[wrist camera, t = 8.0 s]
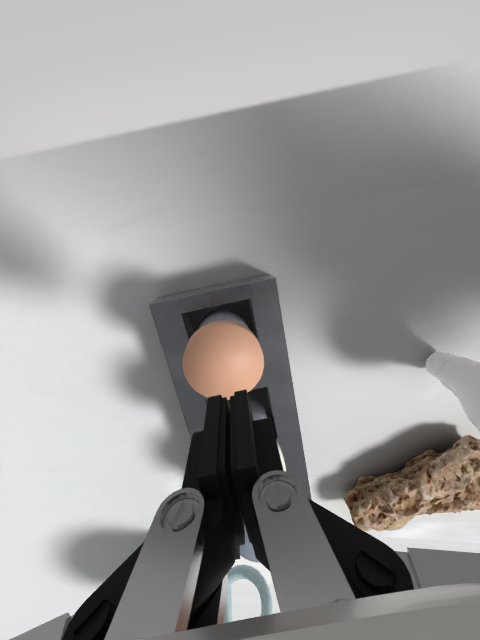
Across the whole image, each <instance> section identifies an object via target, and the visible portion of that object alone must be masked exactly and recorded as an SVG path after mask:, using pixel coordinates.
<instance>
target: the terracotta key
mask: <svg viewBox="0 0 480 640" xmlns="http://www.w3.org/2000/svg"><path fill="white" fill-rule="evenodd" d="M182 365H183V372H184V375H185V378H186V380H187V381H188V383H189V384H190V386H191V387H192V388H193V389H194V390H195V391H197V392H198V393H199V394H201V395H203V396H205V397H207V398H208V397H211V396H216V395H221V396H222V398H224V397H227V400H230V396H234V392H236V391H241V390H246V389H247V393H248V392H249V391H251V390H252V389H253V388H254V387H255V385H256V384H257V383H258V381H259V380H260V378H261V376H262V373H263V369H264V356H263V352H262V349H261V346H260V344H259V342H258V339H257V338H256V336H255V335H254V334H253V332H252V331H250V330H249V328H248V325H247V323H246V321H245V319H244V318H243V317H242V316H241V315H240V314H239V313H237V312H235V311H233V310H230V309H217V310H214V311H212V312H210V313H208V314H207V315H206V316H205V317H204V318H203V319H202V321H201V323H200V325H199V328H198V330H197V331H196V332H195V333H194V334H193V335H192V336H191V338H190V339H189V341H188V344H187V346H186V349H185V352H184V355H183V361H182Z"/></svg>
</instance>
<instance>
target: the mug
mask: <svg viewBox="0 0 480 640" xmlns="http://www.w3.org/2000/svg"><path fill="white" fill-rule="evenodd" d="M227 575H228V589H227V598H226V606H225V615H224V623H228V622H232V602H231V584H232V583H233V582H234V581H237V580H239V579H247V580H250V581H251V582H252V583H254V584H255V586H256V587H257V589H258V591H259V593H260V597H261V604H262V612H261V616H265V615H271V614H273V613H272V599H271V595H270V590H269V587H268V585H267V583H266V581H265V579H264V577H263V576H262V575H261V574H260V572H259V571H258V570H256V569H255V568H253V567H252V566H248V565H237V566H235V567H233V568H231V569H230V570H229V572H228V573H227Z"/></svg>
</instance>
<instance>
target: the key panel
mask: <svg viewBox="0 0 480 640" xmlns="http://www.w3.org/2000/svg"><path fill="white" fill-rule="evenodd" d="M247 299H249V304H250V309H251V314H252V319H253V324H254V329H255V334H256V338H257V339H258V342H259V344H260V346H261V349H262V352H263V356H264V369H263V373H262V376H261V378H260V380H259V381H258V383H257V384H256V385H255V387H254V388H253V389H252V390H254V389H259V388H263V387H266V390H267V395H268V400H269V405H270V410H271V416H272V418H271V421H272V425H273V429H274V433H275V437H276V441H277V442H278V444H279V446H280V448H281V451H282V455H283V458H284V462H285V465H286V472H288V473H291V474H292V475H293V476H294V477H296V478H297V480H298V481H299V483H300V484H301V486H302V488H303V490H304V492H305V495H306V497H307V498H308V499H310V500H311V494H310V487H309V481H308V475H307V469H306V463H305V457H304V450H303V444H302V438H301V432H300V426H299V420H298V414H297V407H296V401H295V395H294V389H293V383H292V377H291V371H290V364H289V358H288V352H287V346H286V340H285V334H284V327H283V321H282V315H281V309H280V303H279V297H278V291H277V284H276V278H275V277H273V276H271V275H270V274H267V275H262V276H258V277H253V278H248V279H243V280H239V281H234V282H229V283H225V284H220V285H215V286H211V287H206V288H201V289H196V290H192V291H187V292H182V293H178V294H173V295H168V296H163V297H159V298H157V299H156V300H155V301H153V302H152V303H151V304H150V309H151V312H152V315H153V318H154V322H155V325H156V328H157V331H158V334H159V338H160V341H161V344H162V347H163V350H164V354H165V357H166V360H167V363H168V366H169V370H170V373H171V376H172V379H173V382H174V386H175V389H176V392H177V395H178V398H179V402H180V405H181V408H182V411H183V414H184V418H185V421H186V424H187V427H188V430H189V434H190V437H191V440H192V435H193V433H194V432H199V431H203V429H204V422H205V415H206V408H207V401H208V398H207V397H205V396H203V395H201V394H199V393H198V392H197V391H195V390H194V389H193V388H192V387H191V386H190V384H189V383H188V381H187V380H186V378H185V375H184V372H183V365H182V361H183V355H184V352H185V349H186V346H187V344H188V341H189V339H190V338H191V336H192V335H193V334H194V331H193V328H192V324H191V320H190V317H189V313H188V312H190V311H195V310H200V309H205V308H209V307H214V306H219V305H223V304H228V303H233V302H237V301H242V300H247Z"/></svg>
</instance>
